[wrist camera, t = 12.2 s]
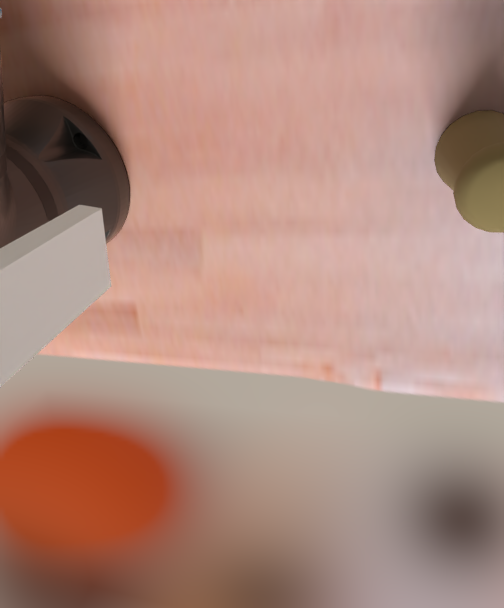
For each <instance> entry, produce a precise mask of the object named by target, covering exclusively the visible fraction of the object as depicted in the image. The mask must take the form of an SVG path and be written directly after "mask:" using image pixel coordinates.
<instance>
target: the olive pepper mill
mask: <svg viewBox="0 0 504 608" xmlns="http://www.w3.org/2000/svg"><path fill="white" fill-rule="evenodd" d="M434 161H435V165H436V170H437V173H438V174H439V176H440V177H441V179H442V180H443V182H444V183H446V184H447V185H448V186H449V187H450V188H451V189H452V190H453V191H454V193H453V194H454V198H455V203H456V207H457V210H458V211H459V213H460V214H461V216H462V217H463V219H464V220H466V221H467V222H468V223H470V224H471V225H472V226H474V227H476V228H478V229H481V230H484V231H488V232H504V114H503V113H499V112H496V111H492V110H486V111H475V112H473V113H470V114H467V115H464V116H462V117H461V118H459V119H458V120H456V121H455V122H453V123H452V124H451V125H450V126H449V127H448V128H447V129H446V131H445V132H444V133H443V134H442V135H441V137H440V140H439V142H438V144H437V146H436V151H435V159H434Z"/></svg>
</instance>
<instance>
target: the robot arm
mask: <svg viewBox="0 0 504 608" xmlns="http://www.w3.org/2000/svg"><path fill="white" fill-rule="evenodd" d="M1 17H2V9H1V8H0V18H1ZM129 202H130V191H129V183H128V178H127V174H126V170H125V167H124V164H123V162H122V159H121V157H120V155H119V153H118V151H117V149H116V147H115V146H114V144H113V142H112V141H111V139H110V138H109V137H108V135H107V134H106V133H105V131H104V130H103V129H102V128H101V127H100V126H99V125H98V124H97V123H96V122H95V121H94V120H93V119H92V118H91V117H90V116H89V115H87V114H86V113H85V112H83V111H82V110H81V109H79V108H77V107H76V106H74V105H72V104H70V103H68V102H66V101H64V100H61V99H58V98H54V97H49V96H29V97H24V98H18V99H14V100H10V101H7V102H5V103H3V87H2V70H1V54H0V387H1V386H2V385H3V384H4V383H5V382H7V381H8V380H9V379H10V378H11V377H12V376H13V375H14V374H15V373H17V372H18V371H19V370H20V369H21V368H22V367H23V366H24V365H25V364H26V363H27V362H29V361H30V360H31V359H32V358H33V357H34V356H35V355H36V354H37V353H39V352H40V351H41V350H42V349H43V348H44V347H45V346H46V345H47V344H48V343H50V342H51V341H52V340H53V339H54V338H55V337H56V336H57V335H58V334H59V333H60V332H62V331H63V330H64V329H65V328H66V327H67V326H68V325H69V324H70V323H71V322H73V321H74V320H75V319H76V318H77V317H78V316H79V315H80V314H81V313H82V312H84V311H85V310H86V309H87V308H88V307H89V306H90V305H91V304H92V303H93V302H95V301H96V300H97V299H98V298H99V297H100V296H101V295H102V294H103V293H104V292H106V291H107V290H108V289H109V288H110V287H111V279H110V271H109V263H108V255H107V247H106V243H108V242H109V241H110V240H112V239H113V238H114V237H115V236H116V235H117V234H118V233H119V231H120V230H121V228H122V227H123V225H124V223H125V220H126V218H127V214H128V210H129Z"/></svg>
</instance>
